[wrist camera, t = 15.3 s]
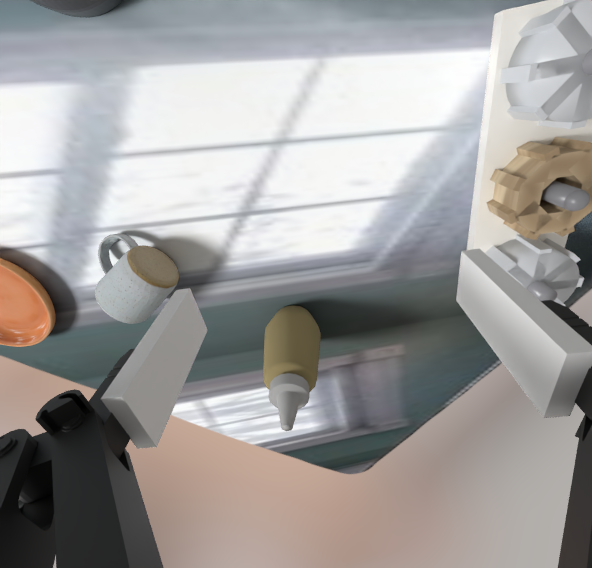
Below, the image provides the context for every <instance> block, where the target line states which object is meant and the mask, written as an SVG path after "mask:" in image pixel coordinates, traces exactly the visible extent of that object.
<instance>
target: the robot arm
mask: <svg viewBox="0 0 592 568" xmlns="http://www.w3.org/2000/svg"><path fill="white" fill-rule="evenodd" d="M30 1H32V2H34V3H36V4H38V5H40V6H43V7H45V8H48V9H51V10H54V11H56V12H59V13H62V14H66V15H69V16H74V17H93V16H98V15H101V14H104V13H106V12H108V11H110V10H112V9H113V8H115V7H116V6H117V5H118V4H119V3H121V2H122V1H123V0H30ZM456 301H457V302H458V303H459V305H460V306H461V308H462V309H463V310H464V312H465V313H466V314H467V316H468V317H469V318H470V320H471V321H472V322H473V324H474V325H475V326H476V328H477V329H478V330H479V332H480V333H481V334H482V336H483V337H484V338H485V340H486V341H487V343H488V344H489V345H490V347H491V348H492V349H493V351H494V352H495V353H496V355H497V356H498V357H499V359H500V360H501V361H502V363H503V364H504V365H505V367H506V368H507V369H508V371H509V372H510V373H511V375H512V376H513V378H514V379H515V380H516V382H517V383H518V384H519V386H520V387H521V388H522V390H523V391H524V392H525V394H526V395H527V396H528V398H529V399H530V400H531V402H532V403H533V404H534V406H535V407H536V408H537V410H538V411H539V413H540V414H541V415H542V416H543V418H549V417H562V416H570V414H571V412H572V410H573V407H574V405H575V403H576V404H577V405H578V406H579V407H580V409H581V410H582V411H583V412H584V413H585V416H584V418H583V420H582V422H581V424H580V426H579V428H578V430H577V433H576V435H575V436H576V437H578V438H579V442H578V448H577V454H576V460H575V467H574V473H573V479H572V485H571V491H570V497H569V503H568V509H567V515H566V521H565V528H564V533H563V539H562V545H561V551H560V557H559V564H558V568H592V327H591V326H590V327H589V325H588V324H587V323H586V322H585V321H584V320H582V319H579V317H578V316H577V315H576V314H575V313H574V312H572V311H571V310H570V309H569V308H567V307H565V306H563V305H561V304H559V303H557V302H555V301H552V300H545V301H540V300H539V299H537V298H536V297H535V296H534V295H533V294H532V293H530V292H529V291H528V290H527V289H526V288H525V287H523V286H522V285H521V284H520V283H519V282H518V281H516V280H515V279H514V278H513V277H512V276H511V275H510V274H508V273H507V272H506V271H505V270H504V269H503V268H501V267H500V266H499V265H498V264H497V263H496V262H494V261H493V260H492V259H491V258H490V257H489V256H488V255H486V254H485V253H484V252H483V251H482V250H481V249H472V250H465V251H462V253H461V262H460V271H459V281H458V290H457V299H456ZM206 332H207V328H206V326H205V323H204V321H203V318H202V316H201V313H200V311H199V309H198V306H197V304H196V301H195V299H194V296H193V294H192V291H191V289H190V288H188V289H180V290H176V291H175V292H174V294H173V295H172V297H171V298H170V299H169V301H168V302H167V304H166V305H165V307H164V308H163V310H162V311H161V312H160V314H159V315H158V317H157V318H156V320H155V321H154V322H153V324H152V325H151V327H150V328H149V330H148V331H147V333H146V334H145V335H144V337H143V338H142V340H141V341H140V343H139V344H138V346H137V347H136V348H135V349H130V350H129V351H128V352H127V353H126V354H125V355H123V356H122V357H121V358H120V359H119V360H118V362H117V363H116V365H115V366H114V367H113V370H111V372H110V373H109V374H108V376H107V378H105V380H104V381H103V383H102V384H101V385H100V387H99V388H98V389H97V391H96V392H95V394H94V395H93V397H92V398H91V399H90V400H89V402H88V401H87V399H86V398H85V397H84V395H83V394H82V393H81V392H80V391H79V390H70V391H66V392H64V393H61V394H59V395H57V396H56V397H54V398H53V399H51V400H50V401H48V402H47V403H46V404H45V405H44V406H43V407H42V408H41V409H40V411H39V412H38V414H37V416H36V421H37V422H38V423H39V424H40V425H41V426H42V427H43V428H44V429H45V430H46V431H47V432H45V433H42V434H39V435H37V436H34V437H32V436H31V435H30V434H29V433H28V432H27V431H26V430H25V429H18V430H14V431H11V432H9V433H7V434H5V435H3V436H1V437H0V568H53V564H54V560H55V555H56V566H57V568H163V565H162V562H161V558H160V555H159V552H158V548H157V545H156V542H155V538H154V535H153V532H152V528H151V525H150V522H149V519H148V515H147V512H146V509H145V505H144V502H143V499H142V495H141V492H140V489H139V486H138V482H137V479H136V476H135V472H134V470H133V466H132V462H131V459H130V456H129V453H128V452H127V451H126V449H125V447H126V446H127V444H128V442H129V440H130V439H131V440H132V442H133V443H134V445H135V446H136V447H137V448H148V447H157V445H158V443H159V440H160V438H161V436H162V433H163V431H164V429H165V427H166V424H167V422H168V420H169V417H170V415H171V413H172V410H173V408H174V406H175V404H176V401H177V399H178V397H179V394H180V392H181V390H182V387H183V385H184V383H185V381H186V378H187V376H188V374H189V371H190V369H191V367H192V364H193V362H194V360H195V358H196V355H197V353H198V351H199V348H200V346H201V344H202V342H203V339H204V337H205V335H206Z"/></svg>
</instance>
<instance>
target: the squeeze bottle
mask: <svg viewBox="0 0 592 568" xmlns="http://www.w3.org/2000/svg"><path fill="white" fill-rule="evenodd" d="M320 340H321V334H320V330H319V327H318V325H317V323H316V322H315V320H314V318H313V317H312V315H311V314H310V313H309V312H308V310H307V309H305V308H303V307H301V306H295V305H291V306H286V307H284V308H282V309H280V310H279V311H278V312H277V313H276V315H275V316H274V317H273V318H272V320H271V321H270V322H269V324H268V325H267V327H266V329H265V342H264V373H263V381H264V383H265V385H266V387H267V388H268V389H269V400H270V402H271V403H272V404H273V405H274V406H275V407H277V408H278V409H279V416H280V422H281V428H282V429H283V430H285V431H289V430H291V429H292V428H293V424H294V421H295V417H296V414H297V410H298V409H300V408H302V407H304V406H305V405H306V404H307V403H308V400H309V392H310V391H311V390H312V389H313V388H314V387H315V384H316V381H317V372H318V361H319V351H320Z"/></svg>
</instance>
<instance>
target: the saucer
mask: <svg viewBox="0 0 592 568" xmlns="http://www.w3.org/2000/svg"><path fill="white" fill-rule="evenodd" d="M54 325H55V311H54V307H53V303H52V301H51V299H50V297H49V295H48V293H47V291H46V290H45V288H44V287H43V286H42V285H41V283H40V282H39V281H38V280H37V279H36V278H35V277H33V276H32V275H31V274H30V273H28V272H27V271H25V270H24V269H22V268H21V267H19V266H17V265H15V264H13V263H11V262H9V261H6V260H4V259H1V258H0V344H2V345H7V346H17V347H22V346H31V345H34V344H37V343H39V342H41V341H43V340H44V339H45V338H46V337H47V336H48V335H49V334H50V332H51V331H52V329H53V327H54Z"/></svg>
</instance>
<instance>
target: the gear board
mask: <svg viewBox="0 0 592 568" xmlns="http://www.w3.org/2000/svg"><path fill="white" fill-rule="evenodd" d="M555 137H559V138H565V139H572V140H579V141H586V142H591V143H592V0H548V1H543V2H538V3H534V4H529V5H525V6H520V7H516V8H511V9H507V10H503V11H501V12H499V13H496V14H495V16H494V25H493V33H492V41H491V50H490V58H489V67H488V75H487V84H486V92H485V100H484V109H483V117H482V126H481V134H480V143H479V151H478V160H477V168H476V176H475V185H474V193H473V202H472V210H471V219H470V227H469V236H468V244H467V250H472V249H481V250H482V251H483V252H484V253H485V254H486V255H488V256H489V257H490V258H491V259H492V260H493V261H494V262H496V263H497V264H498V265H499V266H500V267H501V268H503V269H504V270H505V271H506V272H507V273H508V274H510V275H511V276H512V277H513V278H514V279H515V280H516V281H518V282H519V283H520V284H521V285H522V286H523V287H525V288H526V289H527V290H528V291H529V292H530V293H532V294H533V295H534V296H535V297H536V298H537V299H539V300H540V301H545V300H552V301H555V302H557V303H559V304H561V305H563V306H565V304H563V303H564V302H565V301H566V300H567V299H568V298H569V297H570V296H571V294H572V293H573V292H574V290H575V288H576V287H581V286H582V283H583V280H584V277H582V276H581V275H579V269H578V266H577V264H576V263H577V262H578V261H580V260H581V259H580V258H578V257H577V256H576V255H575V254H574V253H572V252H570V251H569V250H567V249H565V245H566V241H567V238H568V234H567V235H565V236H563V237H562V236H560V235H558V234H556V233H554V232H552V233H545V234H540V235H539V237H538V238H537V240H533V239H529V238H526V237H524V236H522V235H521V234H519V233H518V232H516V231H514V230H513V229H511V228H510V227H508V226H507V225H505V224H503V223H504V221H505V220H503V219H501V218H500V217H498V216H496V215H495V214H493V213H492V212H490V211H489V209H488V206H487V203H486V202H488V201H490V200H492V199H493V195H494V188H495V182H493V181H491V180H490V178H491V176H492V175H493V173H494V171H495V169H498V170H502V169H503V168H505V167H506V166H507V165H508V164H509V163H510V162H511V161H512V160H513V159H514V158H515V157H516V156H517V155H518V153H517V149H516V148H517V147H519V146H521V145H523V144H525V143H527V142H534V143H539V144H544V145H549V144H551V143H552V141H553V139H554V138H555ZM541 199H542V200H545V201H547V202H549V203H552V204H554V205H556V206H559V207H561V208H564V209H566V210H569V211H578V210H581V209H583V208H585V207H586V206H587V205H588V204H589V202H590V195H589V193H588V192H587V191H585V190H582V189H579V188H576V187H573V186H570V185H567V184H564V183H561V182H558V181H555V180H554V181H553V182H552V183H551V184H550V185H548V186H547V187H546V188H545V189H544V190H543V191H542V196H541Z"/></svg>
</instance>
